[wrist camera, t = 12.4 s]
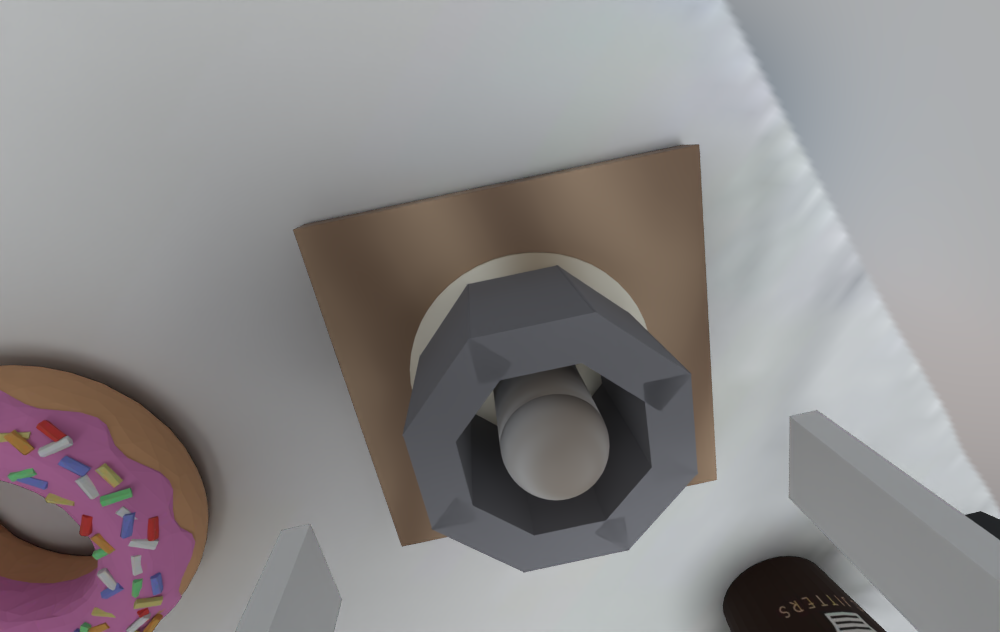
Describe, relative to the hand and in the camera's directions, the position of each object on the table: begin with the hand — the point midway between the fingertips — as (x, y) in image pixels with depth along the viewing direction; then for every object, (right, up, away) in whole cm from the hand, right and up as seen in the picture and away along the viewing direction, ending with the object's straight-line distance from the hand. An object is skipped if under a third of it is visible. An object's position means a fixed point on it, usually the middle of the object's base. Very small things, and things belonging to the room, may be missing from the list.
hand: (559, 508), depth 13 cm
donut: (-23, -3, +10) cm, 25 cm away
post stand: (0, +3, +9) cm, 10 cm away
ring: (0, +3, +8) cm, 8 cm away
